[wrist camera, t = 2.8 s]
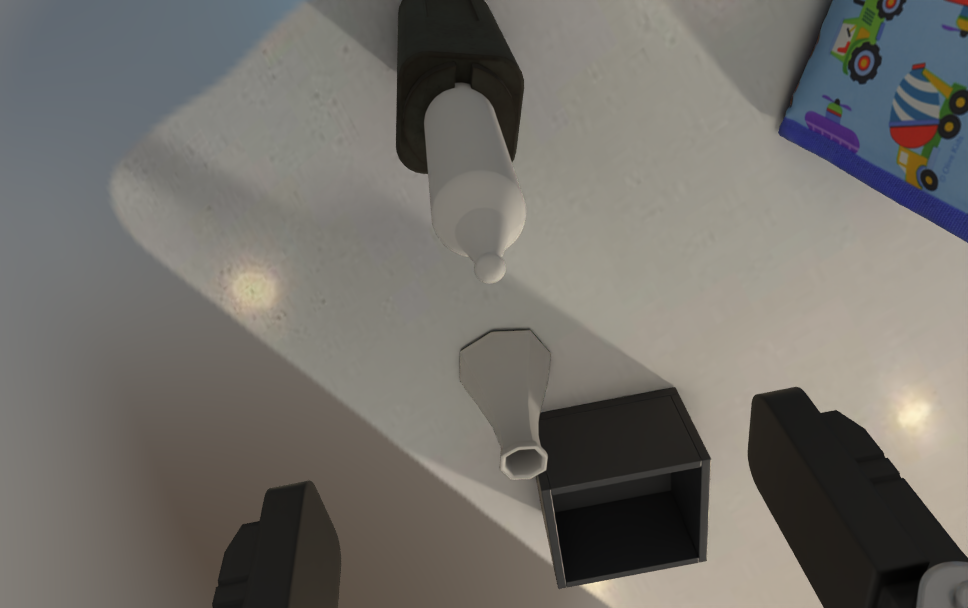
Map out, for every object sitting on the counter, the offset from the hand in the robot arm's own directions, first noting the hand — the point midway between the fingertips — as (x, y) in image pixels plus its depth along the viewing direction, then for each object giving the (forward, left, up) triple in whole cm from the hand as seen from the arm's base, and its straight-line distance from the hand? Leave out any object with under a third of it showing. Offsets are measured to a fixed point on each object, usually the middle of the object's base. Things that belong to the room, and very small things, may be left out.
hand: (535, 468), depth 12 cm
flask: (0, -24, -32) cm, 40 cm away
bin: (+7, -36, -32) cm, 49 cm away
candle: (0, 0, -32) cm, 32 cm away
